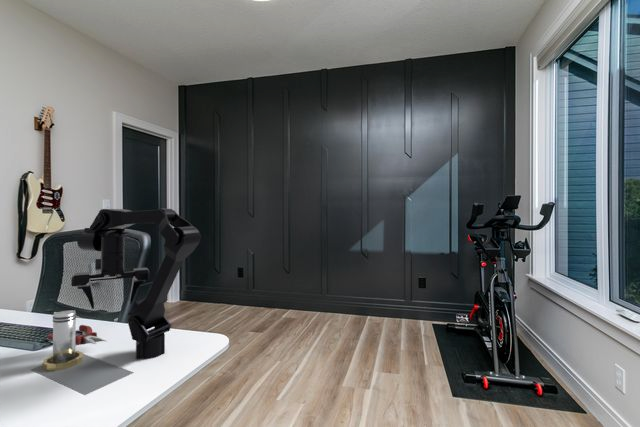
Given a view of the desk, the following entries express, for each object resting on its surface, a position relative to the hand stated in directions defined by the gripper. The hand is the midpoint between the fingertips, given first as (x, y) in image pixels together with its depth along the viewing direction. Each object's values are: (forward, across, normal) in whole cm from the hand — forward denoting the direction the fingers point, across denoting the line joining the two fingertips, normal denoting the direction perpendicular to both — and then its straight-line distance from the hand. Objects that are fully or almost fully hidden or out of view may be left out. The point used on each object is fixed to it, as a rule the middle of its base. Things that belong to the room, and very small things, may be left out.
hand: (112, 305), depth 94 cm
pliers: (+14, +9, -14) cm, 22 cm away
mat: (+13, +6, +12) cm, 19 cm away
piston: (+12, +11, +5) cm, 17 cm away
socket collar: (+13, +11, +5) cm, 18 cm away
